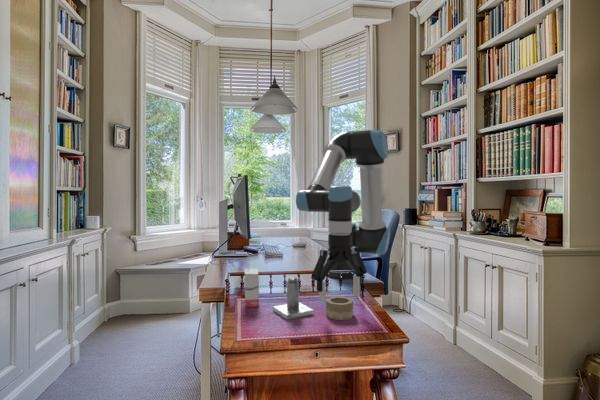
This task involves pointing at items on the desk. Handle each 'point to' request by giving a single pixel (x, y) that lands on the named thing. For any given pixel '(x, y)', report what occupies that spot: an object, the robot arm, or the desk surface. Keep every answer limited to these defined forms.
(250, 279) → the ink box
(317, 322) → the desk surface
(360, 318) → the desk surface
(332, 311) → the collar
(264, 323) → the desk surface
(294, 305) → the post
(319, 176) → the robot arm
